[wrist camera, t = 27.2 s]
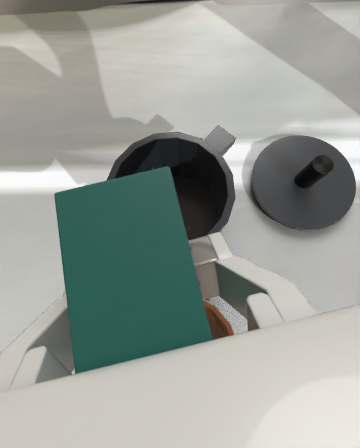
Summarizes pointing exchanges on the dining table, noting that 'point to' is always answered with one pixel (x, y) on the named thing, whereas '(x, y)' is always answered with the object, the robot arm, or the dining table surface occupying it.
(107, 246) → the block
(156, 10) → the dining table surface
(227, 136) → the pot
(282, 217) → the lid
